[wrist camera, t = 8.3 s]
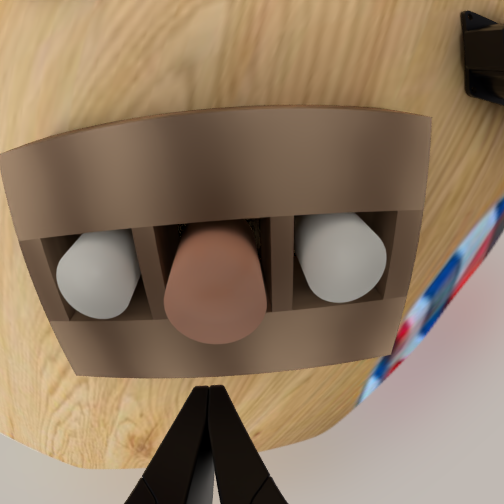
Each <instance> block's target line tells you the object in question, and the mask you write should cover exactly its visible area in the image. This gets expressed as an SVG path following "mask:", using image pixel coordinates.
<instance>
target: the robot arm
mask: <svg viewBox="0 0 504 504" xmlns="http://www.w3.org/2000/svg"><path fill="white" fill-rule="evenodd" d="M468 16H469V18H468ZM462 24H463V35H464V49H465V72H466V92H467V94H468V95H469V96H471V97H474V98H478V99H482V100H486V101H490V102H493V103H497V104H500V105H503V106H504V24H498V23H496V22H494V21H492V20H489V19H487V18H485V17H483V16H480V15H478V14H476V13H473V12H471V11H468V10H467V11H463V12H462ZM472 88H473V92H472ZM214 472H215V475H216V481H217V487H218V492H219V498H220V503H221V504H288V503H287V501H286V500H285V499H284V497H283V495H282V494H281V492H280V491H279V489H278V487H277V486H276V484H275V482H274V480H273V479H272V477H270V474H269V472H268V470H267V468H266V466H265V465H264V463H263V461H262V459H261V457H260V456H259V454H258V452H257V450H256V448H255V446H254V444H253V442H252V440H251V439H250V437H249V435H248V433H247V431H246V429H245V427H244V425H243V423H242V421H241V419H240V417H239V415H238V413H237V411H236V409H235V407H234V405H233V403H232V401H231V399H230V397H229V395H228V393H227V391H226V389H225V387H224V386H223V385H212V386H210V387H209V386H195V387H194V388H193V390H192V392H191V393H190V395H189V397H188V398H187V400H186V402H185V404H184V405H183V407H182V409H181V410H180V412H179V414H178V416H177V417H176V419H175V421H174V422H173V424H172V426H171V428H170V429H169V431H168V433H167V434H166V436H165V438H164V439H163V441H162V443H161V445H160V446H159V448H158V450H157V451H156V453H155V455H154V456H153V458H152V460H151V461H150V463H149V465H148V466H147V468H146V470H145V471H144V473H143V475H142V477H143V478H140V480H139V481H138V483H137V485H136V486H135V488H134V489H133V491H132V492H131V494H130V496H129V497H128V499H127V500H126V502H125V503H124V504H212V499H213V486H214Z"/></svg>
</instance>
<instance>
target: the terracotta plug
mask: <svg viewBox="0 0 504 504" xmlns="http://www.w3.org/2000/svg"><path fill="white" fill-rule="evenodd" d="M164 308H165V312H166V315H167V317H168V319H169V321H170V322H171V324H172V325H173V326H174V327H175V328H176V329H177V330H178V331H179V332H180V333H182V334H183V335H185V336H186V337H188V338H190V339H193V340H195V341H198V342H202V343H207V344H227V343H231V342H235V341H238V340H240V339H242V338H244V337H246V336H248V335H249V334H251V333H252V332H253V331H254V330H255V329H256V328H257V327H258V326H259V325H260V323H261V322H262V320H263V318H264V316H265V313H266V308H267V299H266V293H265V288H264V283H263V278H262V272H261V267H260V262H259V257H258V252H257V247H256V242H255V237H254V233H253V231H252V228H251V227H250V225H249V224H248V223H247V221H246V220H245V219H233V220H220V221H207V222H195V223H187V224H186V225H185V227H184V229H183V231H182V234H181V237H180V241H179V244H178V247H177V251H176V254H175V258H174V261H173V265H172V268H171V272H170V276H169V279H168V283H167V287H166V290H165V295H164Z"/></svg>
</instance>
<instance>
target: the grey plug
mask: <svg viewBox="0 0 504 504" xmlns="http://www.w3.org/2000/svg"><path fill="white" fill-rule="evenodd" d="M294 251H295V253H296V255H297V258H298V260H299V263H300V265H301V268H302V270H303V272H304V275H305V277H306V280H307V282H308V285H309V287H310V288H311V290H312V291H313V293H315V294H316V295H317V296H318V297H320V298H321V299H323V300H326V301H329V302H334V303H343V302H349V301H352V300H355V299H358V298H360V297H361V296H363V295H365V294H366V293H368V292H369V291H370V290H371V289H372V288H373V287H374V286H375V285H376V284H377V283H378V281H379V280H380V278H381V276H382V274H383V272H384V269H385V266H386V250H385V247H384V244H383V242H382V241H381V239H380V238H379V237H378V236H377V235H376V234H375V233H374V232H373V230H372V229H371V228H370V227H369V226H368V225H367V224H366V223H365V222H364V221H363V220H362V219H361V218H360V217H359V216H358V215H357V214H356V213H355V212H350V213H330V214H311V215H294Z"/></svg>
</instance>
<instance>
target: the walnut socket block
mask: <svg viewBox="0 0 504 504" xmlns="http://www.w3.org/2000/svg"><path fill="white" fill-rule="evenodd" d="M431 124H432V117H428V116H423V115H418V114H412V113H407V112H401V111H395V110H388V109H381V108H369V107H354V106H332V105H263V106H241V107H225V108H213V109H201V110H192V111H182V112H174V113H166V114H159V115H152V116H145V117H139V118H133V119H127V120H121V121H116V122H110V123H105V124H100V125H95V126H91V127H86V128H82V129H77V130H73V131H69V132H65V133H61V134H57V135H53V136H49V137H46V138H43V139H40V140H37V141H34V142H31V143H28V144H25V145H23V146H20V147H17V148H14V149H12V150H9V151H6V152H4V153H1V154H0V170H1V175H2V180H3V184H4V189H5V193H6V197H7V202H8V206H9V209H10V213H11V217H12V221H13V224H14V228H15V231H16V234H17V238H18V241H19V244H20V247H21V250H22V253H23V256H24V259H25V262H26V265H27V268H28V271H29V273H30V276H31V279H32V281H33V284H34V287H35V289H36V292H37V294H38V297H39V299H40V302H41V304H42V306H43V309H44V311H45V313H46V316H47V318H48V320H49V322H50V324H51V327H52V329H53V331H54V333H55V335H56V337H57V339H58V341H59V343H60V345H61V348H62V349H63V351H64V353H65V355H66V357H67V359H68V361H69V363H70V365H71V367H72V369H73V370H74V372H75V374H76V375H78V376H93V377H115V378H196V377H218V376H234V375H248V374H260V373H271V372H280V371H289V370H298V369H306V368H314V367H321V366H328V365H334V364H341V363H347V362H353V361H359V360H364V359H370V358H375V357H380V356H386V355H391V352H392V348H393V345H394V342H395V338H396V335H397V331H398V328H399V324H400V321H401V317H402V313H403V309H404V305H405V301H406V297H407V293H408V289H409V285H410V280H411V276H412V271H413V266H414V262H415V256H416V251H417V246H418V241H419V235H420V229H421V223H422V216H423V209H424V202H425V195H426V186H427V177H428V167H429V156H430V142H431ZM350 212H355V213H356V214H357V215H358V216H359V217H360V218H361V219H362V220H363V221H364V222H365V223H366V224H367V225H368V226H369V227H370V228H371V229H372V230H373V232H374V233H375V234H376V235H377V236H378V237H379V238H380V239H381V241H382V242H383V244H384V247H385V250H386V266H385V269H384V272H383V274H382V276H381V278H380V280H379V281H378V283H377V284H376V285H375V286H374V287H373V288H372V289H371V290H370V291H369V292H368V293H366V294H365V295H363V296H361V297H360V298H358V299H355V300H352V301H349V302H343V303H334V302H329V301H326V300H323V299H321V298H320V297H318V296H317V295H316V294H315V293H313V291H312V290H311V288H310V287H309V285H308V282H307V280H306V277H305V275H304V272H303V270H302V268H301V265H300V263H299V260H298V258H297V257H293V249H294V215H311V214H330V213H350ZM247 218H260V237H261V260H259V262H260V267H261V272H262V278H263V283H264V288H265V293H266V299H267V308H266V313H265V316H264V318H263V320H262V322H261V323H260V325H259V326H258V327H257V328H256V329H255V330H254V331H253V332H252V333H251V334H249V335H248V336H246V337H244V338H242V339H240V340H238V341H235V342H231V343H227V344H207V343H202V342H198V341H195V340H193V339H190V338H188V337H186V336H185V335H183V334H182V333H180V332H179V331H178V330H177V329H176V328H175V327H174V326H173V325H172V324H171V322H170V321H169V319H168V317H167V315H166V312H165V308H164V295H165V290H166V287H167V283H168V279H169V276H170V272H171V268H172V265H173V261H174V258H175V254H176V251H177V247H178V244H179V234H178V228H177V224H183V223H195V222H207V221H220V220H233V219H247ZM129 228H131V229H132V234H133V239H134V244H135V248H136V253H137V257H138V262H139V266H140V270H141V275H140V278H139V280H138V283H137V285H136V287H135V290H134V292H133V295H132V297H131V300H130V302H129V305H128V306H127V308H126V309H125V310H124V311H123V312H122V313H121V314H120V315H118V316H116V317H113V318H109V319H97V318H92V317H89V316H86V315H84V314H82V313H80V312H79V311H77V310H76V309H75V308H73V307H72V306H71V305H70V304H69V303H68V302H67V301H66V299H65V298H64V297H63V295H62V293H61V291H60V289H59V287H58V283H57V277H56V272H57V267H58V264H59V261H60V260H61V258H62V257H63V256H64V255H65V253H66V252H67V251H68V250H69V249H70V248H71V246H72V245H73V244H74V243H75V242H76V241H77V240H78V238H79V237H80V236H81V235H82V234H83V233H91V232H100V231H109V230H119V229H129Z"/></svg>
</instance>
